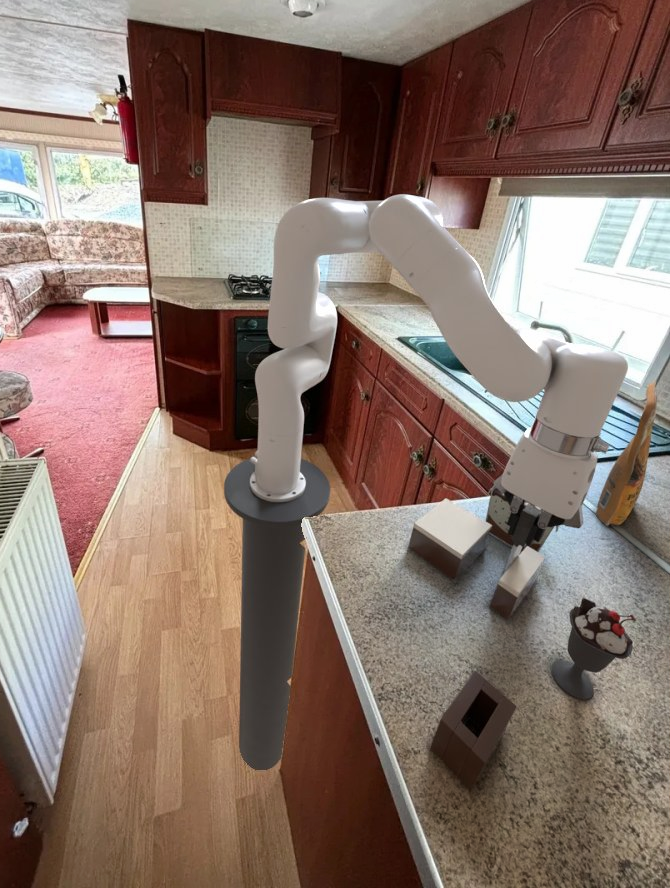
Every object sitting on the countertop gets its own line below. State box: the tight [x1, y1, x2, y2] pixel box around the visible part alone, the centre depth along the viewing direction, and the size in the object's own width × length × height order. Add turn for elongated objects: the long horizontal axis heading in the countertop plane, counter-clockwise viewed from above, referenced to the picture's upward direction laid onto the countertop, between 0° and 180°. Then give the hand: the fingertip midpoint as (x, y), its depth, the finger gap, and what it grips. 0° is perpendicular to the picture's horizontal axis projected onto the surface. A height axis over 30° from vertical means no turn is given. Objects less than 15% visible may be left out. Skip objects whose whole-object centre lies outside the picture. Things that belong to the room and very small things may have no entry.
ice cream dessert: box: [485, 485, 559, 554], centre depth 76 cm, size 12×6×10 cm, turn 40°
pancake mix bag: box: [595, 380, 658, 527], centre depth 83 cm, size 7×19×28 cm, turn 132°
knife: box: [499, 504, 542, 579], centre depth 64 cm, size 2×4×16 cm, turn 132°
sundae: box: [550, 597, 637, 700], centre depth 52 cm, size 7×7×15 cm
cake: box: [407, 498, 492, 582], centre depth 73 cm, size 9×11×6 cm
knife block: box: [429, 670, 518, 793], centre depth 46 cm, size 5×8×6 cm, turn 132°
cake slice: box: [488, 546, 546, 621], centre depth 65 cm, size 3×11×6 cm, turn 132°
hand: (522, 535), depth 63 cm, fingers closed on knife, 2 cm apart
